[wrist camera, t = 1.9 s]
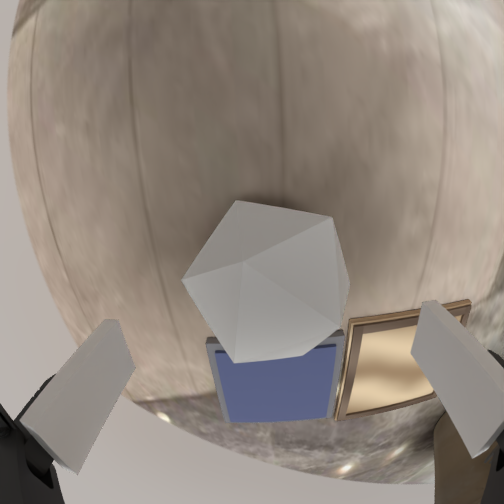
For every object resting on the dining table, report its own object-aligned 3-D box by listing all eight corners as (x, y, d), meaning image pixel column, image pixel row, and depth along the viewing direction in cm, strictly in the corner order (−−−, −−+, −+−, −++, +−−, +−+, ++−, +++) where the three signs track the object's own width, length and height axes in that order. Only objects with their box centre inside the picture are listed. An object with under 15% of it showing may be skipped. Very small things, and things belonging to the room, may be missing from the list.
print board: (349, 319, 20) (352, 325, 19) (468, 299, 19) (473, 303, 18) (333, 416, 24) (335, 422, 23) (434, 392, 23) (436, 397, 22)
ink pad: (207, 337, 21) (204, 346, 20) (342, 330, 20) (345, 338, 19) (225, 416, 25) (224, 425, 24) (330, 411, 24) (332, 420, 23)
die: (234, 323, 22) (323, 402, 14) (141, 277, 16) (216, 394, 8) (293, 236, 22) (401, 283, 14) (219, 164, 16) (356, 186, 9)
